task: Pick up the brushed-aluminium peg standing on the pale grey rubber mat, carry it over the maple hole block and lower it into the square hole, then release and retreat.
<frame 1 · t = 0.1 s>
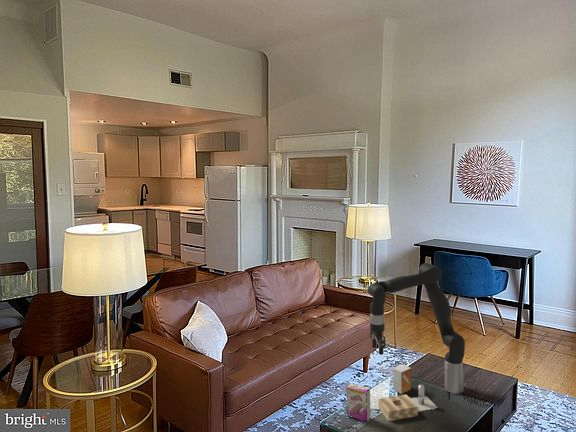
hand: (377, 350, 229), 29 cm above the table, fingers open, 8 cm apart
peg: (421, 403, 229), resting on mat
candy bar box: (358, 417, 220), on the table
small box: (402, 390, 244), on the table
hole block: (397, 411, 224), on the table
mat: (421, 404, 229), on the table
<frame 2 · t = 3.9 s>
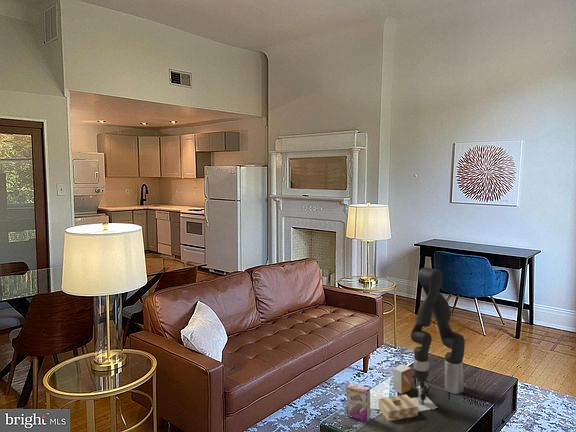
hand: (421, 397, 229), 4 cm above the table, fingers closed on peg, 3 cm apart
peg: (421, 403, 229), resting on mat, touching gripper
everything else where it was.
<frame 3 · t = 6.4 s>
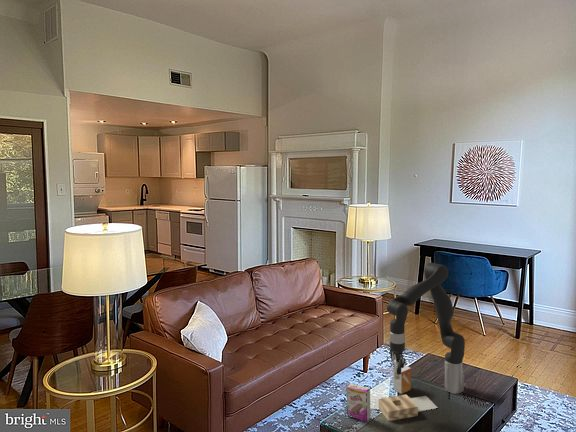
hand: (397, 372, 221), 22 cm above the table, fingers closed on peg, 3 cm apart
peg: (397, 378, 221), point 18 cm above the table, touching gripper
everything else where it was.
when the fingers open (6 cm above the table, at t = 9.2 s): peg drops 3 cm, resting in hole block.
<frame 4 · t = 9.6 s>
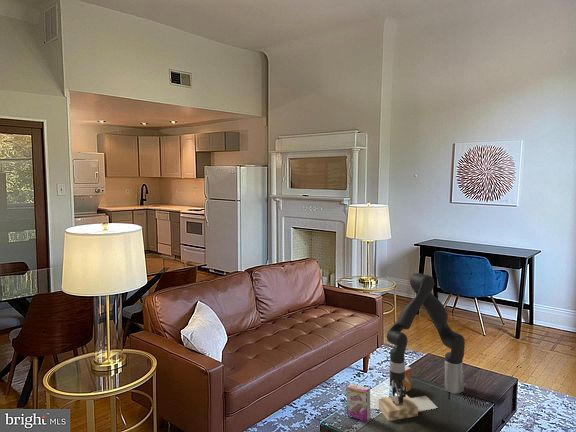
hand: (397, 399, 223), 7 cm above the table, fingers open, 6 cm apart
peg: (397, 411, 223), resting in hole block
everything else where it was.
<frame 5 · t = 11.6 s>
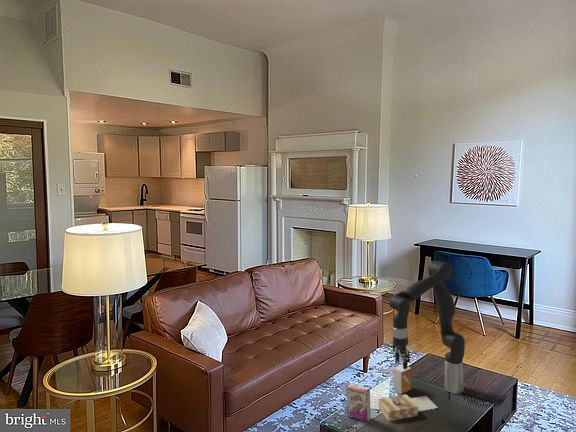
hand: (401, 364, 222), 24 cm above the table, fingers open, 8 cm apart
nothing on the table moved.
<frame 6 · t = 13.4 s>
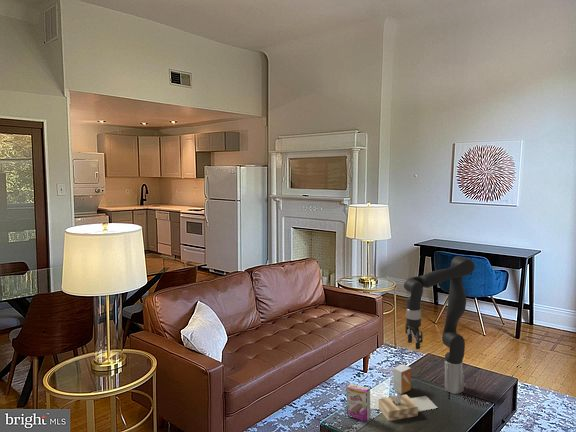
hand: (413, 345, 231), 30 cm above the table, fingers open, 8 cm apart
nothing on the table moved.
at the end: peg 0.0 cm off-centre on the hole block, point 0.0 cm above the hole block's base; peg tilted 0°; the gripper is holding nothing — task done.
